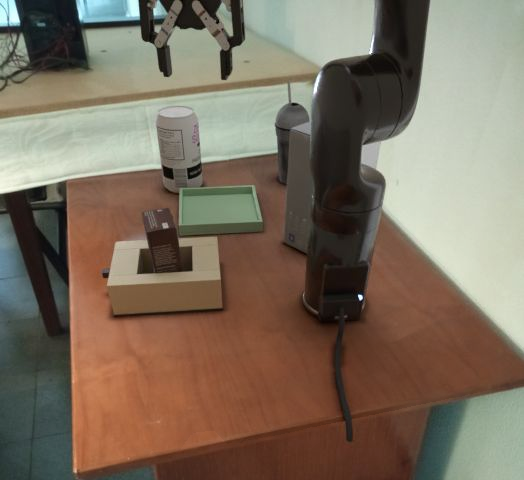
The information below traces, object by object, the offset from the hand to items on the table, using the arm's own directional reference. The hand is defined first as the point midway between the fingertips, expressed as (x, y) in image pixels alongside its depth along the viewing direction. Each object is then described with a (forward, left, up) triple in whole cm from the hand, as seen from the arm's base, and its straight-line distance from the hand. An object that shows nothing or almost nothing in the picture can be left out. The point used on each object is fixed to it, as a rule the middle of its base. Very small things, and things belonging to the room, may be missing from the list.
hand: (196, 77), depth 72 cm
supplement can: (+21, +5, -26) cm, 34 cm away
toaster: (-16, +7, -26) cm, 31 cm away
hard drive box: (-2, -21, -26) cm, 34 cm away
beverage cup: (+22, -18, -26) cm, 39 cm away
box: (-16, +7, -26) cm, 31 cm away
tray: (+8, -2, -26) cm, 28 cm away
